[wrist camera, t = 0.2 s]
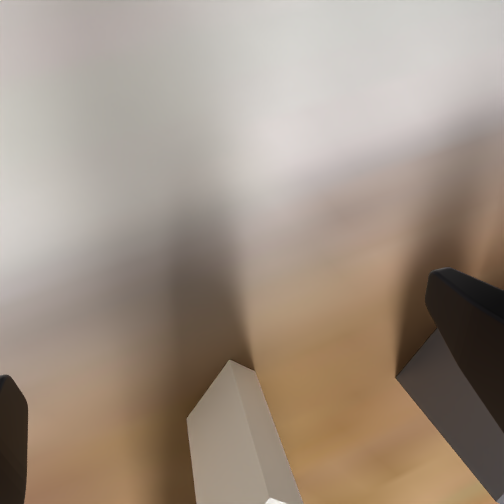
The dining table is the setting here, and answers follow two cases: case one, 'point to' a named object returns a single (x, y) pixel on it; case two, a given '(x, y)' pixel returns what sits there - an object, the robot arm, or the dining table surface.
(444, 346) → the domino
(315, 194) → the dining table surface
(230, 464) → the domino head
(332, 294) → the dining table surface
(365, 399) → the dining table surface
